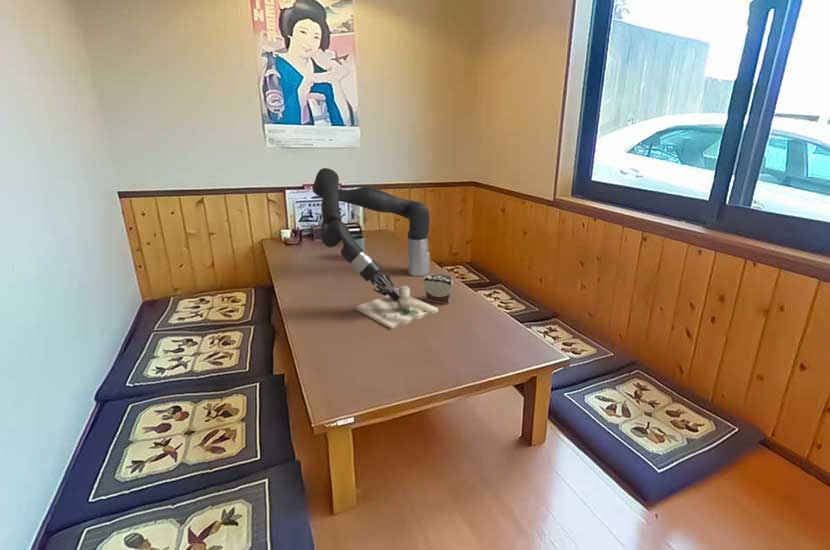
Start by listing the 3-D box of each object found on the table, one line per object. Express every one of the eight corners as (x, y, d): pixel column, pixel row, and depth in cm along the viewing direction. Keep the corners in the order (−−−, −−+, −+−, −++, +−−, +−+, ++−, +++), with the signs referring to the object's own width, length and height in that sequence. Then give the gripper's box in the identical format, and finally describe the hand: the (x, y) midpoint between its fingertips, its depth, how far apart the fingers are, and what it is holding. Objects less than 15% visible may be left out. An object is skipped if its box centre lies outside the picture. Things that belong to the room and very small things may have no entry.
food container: (457, 298, 178) (457, 275, 174) (451, 304, 172) (452, 280, 169) (429, 294, 183) (429, 271, 179) (423, 299, 177) (422, 276, 174)
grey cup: (369, 258, 230) (368, 236, 226) (357, 263, 222) (356, 240, 218) (354, 255, 236) (353, 233, 232) (342, 260, 228) (340, 238, 224)
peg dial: (388, 296, 178) (387, 276, 175) (402, 294, 179) (402, 275, 176) (400, 314, 161) (399, 293, 158) (415, 312, 163) (415, 291, 160)
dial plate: (400, 294, 183) (400, 291, 183) (438, 311, 167) (438, 308, 166) (355, 309, 170) (355, 305, 169) (392, 329, 153) (391, 325, 153)
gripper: (365, 266, 171) (396, 298, 172) (352, 278, 159) (385, 312, 160) (377, 254, 168) (409, 287, 169) (365, 265, 156) (399, 300, 157)
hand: (397, 299), depth 165 cm, fingers closed
